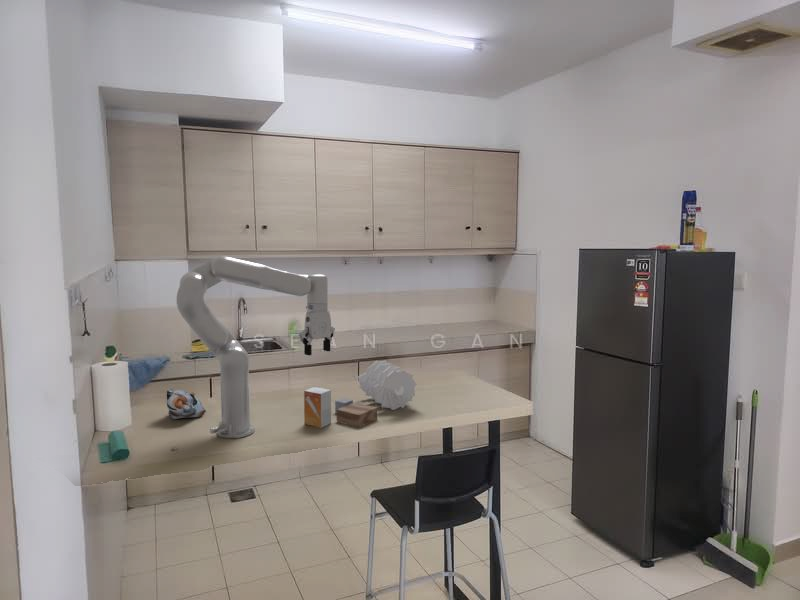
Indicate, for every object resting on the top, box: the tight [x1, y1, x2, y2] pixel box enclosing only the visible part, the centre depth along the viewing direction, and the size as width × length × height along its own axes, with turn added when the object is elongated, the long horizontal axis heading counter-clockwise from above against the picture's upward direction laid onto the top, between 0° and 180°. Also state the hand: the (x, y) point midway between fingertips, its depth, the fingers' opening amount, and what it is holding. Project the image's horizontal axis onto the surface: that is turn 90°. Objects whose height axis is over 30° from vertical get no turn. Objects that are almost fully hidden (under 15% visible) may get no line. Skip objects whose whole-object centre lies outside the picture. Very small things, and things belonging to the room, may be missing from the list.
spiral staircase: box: [357, 360, 417, 411], centre depth 228 cm, size 18×18×25 cm
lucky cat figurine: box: [166, 388, 207, 421], centre depth 209 cm, size 15×12×14 cm
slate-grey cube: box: [334, 397, 354, 414], centre depth 217 cm, size 5×5×5 cm
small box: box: [303, 386, 332, 429], centre depth 203 cm, size 8×6×13 cm
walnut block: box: [336, 402, 378, 428], centre depth 207 cm, size 11×11×5 cm
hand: (317, 352), depth 203 cm, fingers open, 9 cm apart
